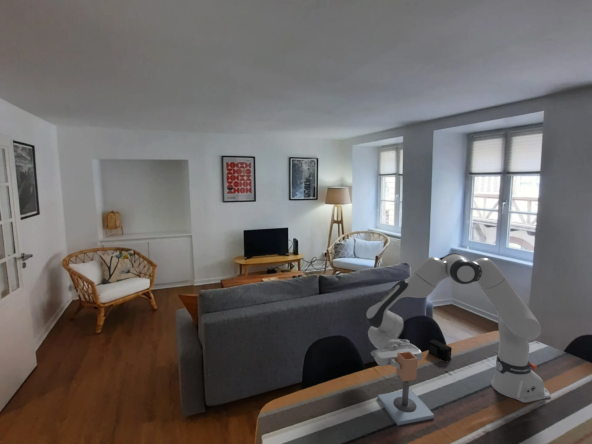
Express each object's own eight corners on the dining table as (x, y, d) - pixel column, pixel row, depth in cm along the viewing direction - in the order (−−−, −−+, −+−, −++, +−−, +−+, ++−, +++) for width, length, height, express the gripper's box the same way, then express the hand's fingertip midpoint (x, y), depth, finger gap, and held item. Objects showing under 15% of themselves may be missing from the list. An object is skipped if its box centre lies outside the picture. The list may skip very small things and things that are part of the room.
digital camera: (426, 354, 177) (427, 341, 176) (432, 351, 180) (433, 339, 179) (444, 363, 168) (445, 350, 167) (450, 359, 172) (451, 347, 170)
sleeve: (408, 371, 137) (409, 351, 136) (416, 379, 132) (417, 358, 131) (396, 373, 136) (397, 352, 135) (403, 381, 131) (405, 360, 129)
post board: (410, 392, 146) (412, 366, 144) (433, 418, 130) (435, 389, 129) (377, 398, 142) (378, 371, 140) (397, 425, 127) (399, 396, 125)
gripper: (369, 344, 143) (385, 362, 130) (411, 339, 148) (430, 355, 134) (368, 358, 144) (384, 376, 130) (410, 352, 149) (429, 369, 135)
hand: (408, 366), depth 132 cm, fingers closed on sleeve, 6 cm apart
